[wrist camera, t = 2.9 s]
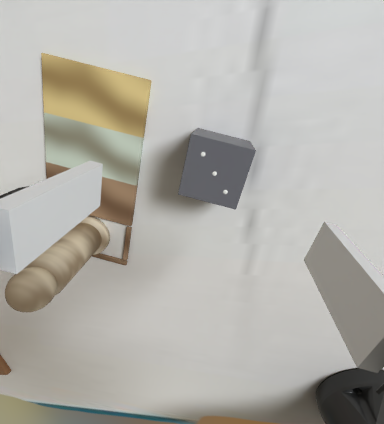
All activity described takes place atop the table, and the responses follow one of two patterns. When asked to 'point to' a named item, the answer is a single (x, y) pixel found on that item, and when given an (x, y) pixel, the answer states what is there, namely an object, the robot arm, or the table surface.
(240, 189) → the die
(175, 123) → the table surface
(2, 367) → the gingerbread man figurine
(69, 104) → the board
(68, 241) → the pawn
